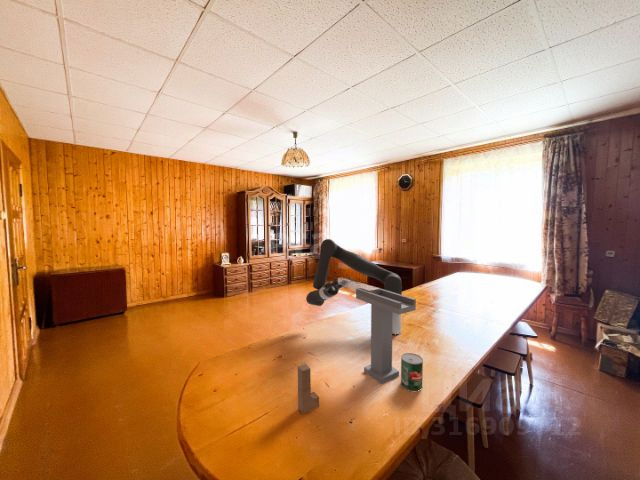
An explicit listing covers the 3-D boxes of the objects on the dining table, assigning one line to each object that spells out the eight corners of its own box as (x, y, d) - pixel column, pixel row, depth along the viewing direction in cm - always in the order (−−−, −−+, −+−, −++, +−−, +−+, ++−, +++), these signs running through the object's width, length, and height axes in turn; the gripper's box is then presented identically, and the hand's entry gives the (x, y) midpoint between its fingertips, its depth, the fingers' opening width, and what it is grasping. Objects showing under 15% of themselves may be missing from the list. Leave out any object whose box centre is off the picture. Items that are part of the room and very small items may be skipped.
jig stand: (355, 365, 116) (355, 288, 113) (372, 358, 121) (372, 285, 119) (396, 395, 95) (398, 303, 93) (415, 386, 100) (416, 298, 98)
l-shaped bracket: (302, 414, 86) (302, 370, 85) (297, 408, 89) (297, 366, 88) (319, 406, 90) (318, 364, 89) (314, 401, 93) (313, 360, 91)
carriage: (335, 284, 130) (335, 278, 130) (344, 282, 133) (344, 277, 133) (369, 296, 109) (369, 289, 108) (380, 294, 112) (380, 287, 112)
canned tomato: (405, 376, 107) (405, 350, 106) (425, 384, 102) (425, 357, 101) (397, 386, 100) (397, 358, 100) (418, 395, 95) (418, 365, 95)
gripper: (315, 285, 138) (330, 275, 126) (337, 282, 146) (353, 272, 133) (319, 299, 136) (334, 290, 123) (341, 295, 143) (358, 286, 130)
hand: (344, 280), depth 128 cm, fingers open, 8 cm apart
